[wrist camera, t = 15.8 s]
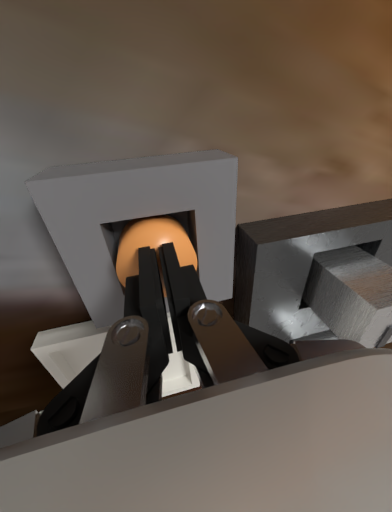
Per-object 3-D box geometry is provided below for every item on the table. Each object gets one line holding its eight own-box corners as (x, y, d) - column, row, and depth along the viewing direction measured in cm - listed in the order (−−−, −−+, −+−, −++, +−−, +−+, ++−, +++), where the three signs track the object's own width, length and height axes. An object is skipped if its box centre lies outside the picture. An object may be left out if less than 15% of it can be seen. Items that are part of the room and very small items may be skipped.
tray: (38, 332, 16) (30, 349, 15) (188, 299, 18) (191, 312, 17) (89, 402, 23) (87, 418, 22) (196, 372, 25) (199, 386, 23)
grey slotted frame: (238, 224, 15) (257, 244, 13) (399, 197, 18) (441, 210, 15) (231, 364, 25) (241, 390, 23) (334, 335, 28) (354, 356, 25)
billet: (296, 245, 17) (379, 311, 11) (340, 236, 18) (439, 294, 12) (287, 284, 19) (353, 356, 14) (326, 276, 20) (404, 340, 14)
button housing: (48, 167, 11) (24, 181, 9) (217, 149, 12) (237, 157, 10) (102, 296, 16) (96, 328, 14) (218, 272, 17) (232, 298, 15)
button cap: (110, 218, 11) (105, 240, 9) (184, 207, 12) (194, 225, 10) (128, 277, 14) (127, 305, 12) (190, 265, 14) (199, 289, 12)
